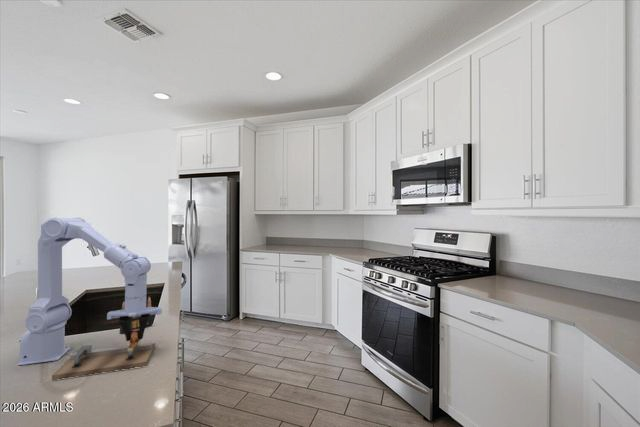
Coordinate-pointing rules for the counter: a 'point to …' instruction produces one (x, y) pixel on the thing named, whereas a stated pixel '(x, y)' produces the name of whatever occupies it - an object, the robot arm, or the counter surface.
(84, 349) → the fixed leg
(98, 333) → the counter surface
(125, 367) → the hole plate
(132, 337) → the sliding leg
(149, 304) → the ammunition clip
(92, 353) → the steel beam
